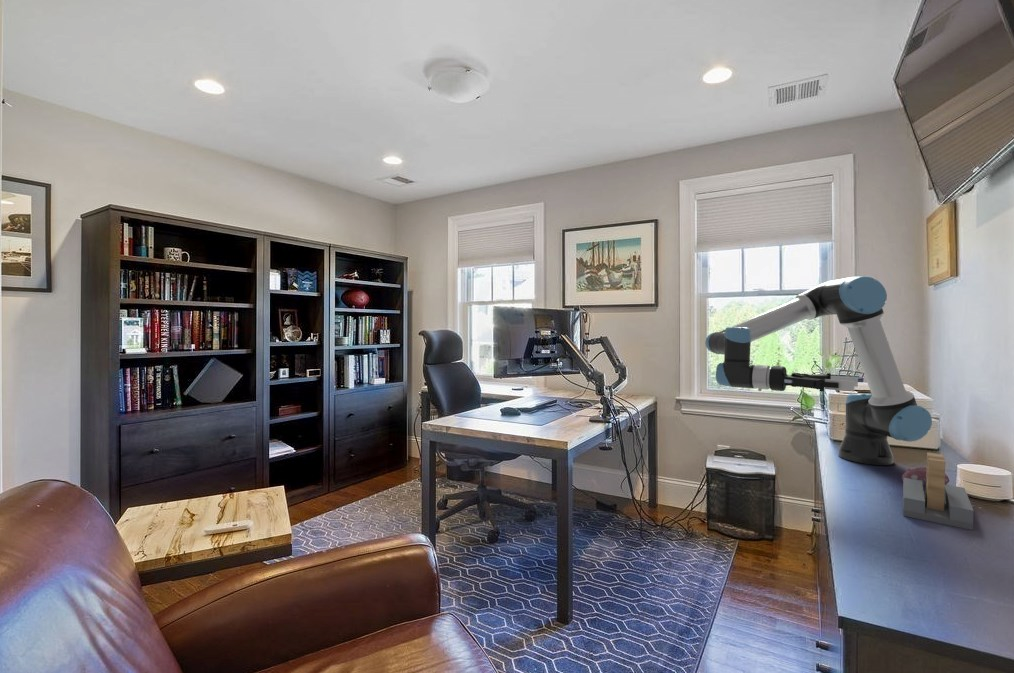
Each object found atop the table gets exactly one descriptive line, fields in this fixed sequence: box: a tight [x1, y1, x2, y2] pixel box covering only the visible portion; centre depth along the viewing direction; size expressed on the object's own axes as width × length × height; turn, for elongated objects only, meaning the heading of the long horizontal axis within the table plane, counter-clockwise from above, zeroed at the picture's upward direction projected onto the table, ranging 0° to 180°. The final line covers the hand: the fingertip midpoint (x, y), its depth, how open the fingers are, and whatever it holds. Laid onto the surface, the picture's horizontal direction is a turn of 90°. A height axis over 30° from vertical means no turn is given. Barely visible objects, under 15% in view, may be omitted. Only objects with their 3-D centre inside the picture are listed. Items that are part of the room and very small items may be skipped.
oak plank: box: [925, 452, 946, 511], centre depth 117 cm, size 9×3×12 cm, turn 140°
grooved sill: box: [902, 478, 974, 531], centre depth 117 cm, size 20×12×4 cm, turn 140°
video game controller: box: [901, 466, 950, 486], centre depth 134 cm, size 10×5×7 cm, turn 63°
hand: (856, 384), depth 130 cm, fingers open, 13 cm apart
